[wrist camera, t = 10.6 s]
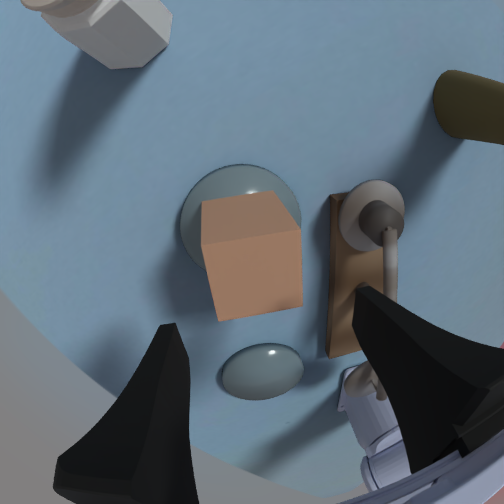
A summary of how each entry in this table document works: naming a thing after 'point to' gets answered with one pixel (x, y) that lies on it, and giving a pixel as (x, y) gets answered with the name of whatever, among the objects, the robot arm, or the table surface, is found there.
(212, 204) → the block
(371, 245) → the balance
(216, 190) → the grey dome
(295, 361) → the smooth grey pebble
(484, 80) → the cork
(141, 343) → the table surface
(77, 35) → the salt shaker
